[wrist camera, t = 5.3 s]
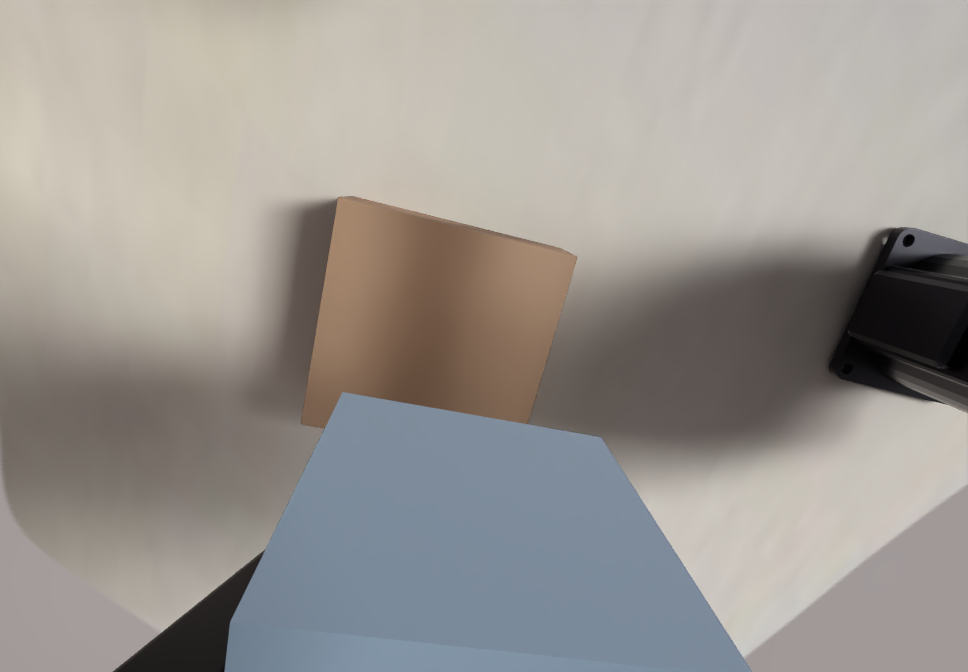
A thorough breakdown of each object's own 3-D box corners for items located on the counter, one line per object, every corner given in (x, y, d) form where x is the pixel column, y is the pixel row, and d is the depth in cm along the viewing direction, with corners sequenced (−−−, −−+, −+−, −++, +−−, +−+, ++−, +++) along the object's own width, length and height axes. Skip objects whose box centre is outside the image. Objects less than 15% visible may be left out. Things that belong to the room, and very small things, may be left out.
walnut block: (557, 247, 20) (577, 256, 17) (506, 426, 22) (515, 463, 19) (354, 196, 18) (338, 197, 16) (320, 391, 20) (300, 424, 18)
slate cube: (601, 437, 10) (756, 678, 5) (536, 636, 11) (611, 982, 6) (342, 392, 9) (230, 623, 4) (306, 611, 10) (188, 978, 6)
